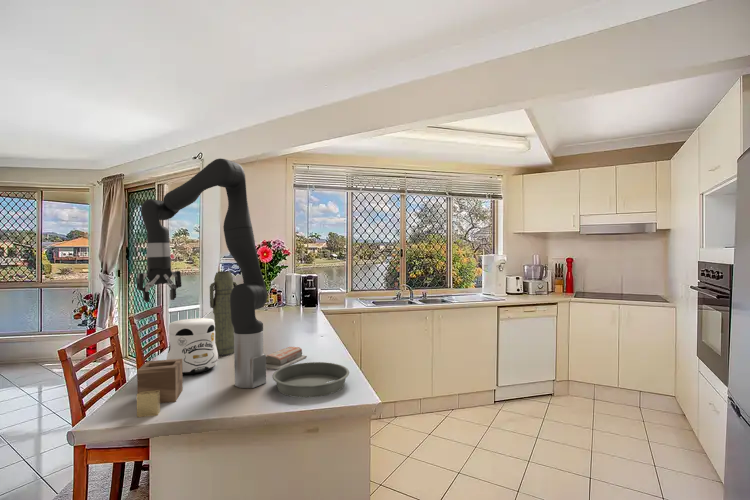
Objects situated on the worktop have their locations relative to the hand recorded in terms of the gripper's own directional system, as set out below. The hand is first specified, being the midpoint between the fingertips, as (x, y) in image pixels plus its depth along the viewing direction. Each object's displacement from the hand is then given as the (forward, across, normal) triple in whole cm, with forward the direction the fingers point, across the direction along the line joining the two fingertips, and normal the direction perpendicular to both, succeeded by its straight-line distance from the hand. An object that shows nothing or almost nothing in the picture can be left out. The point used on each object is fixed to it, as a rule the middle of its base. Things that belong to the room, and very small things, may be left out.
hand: (160, 301), depth 147 cm
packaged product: (+28, +37, -21) cm, 51 cm away
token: (+27, -17, -35) cm, 47 cm away
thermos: (+26, +29, +10) cm, 41 cm away
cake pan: (+28, +27, -51) cm, 64 cm away
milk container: (+27, +9, -4) cm, 28 cm away
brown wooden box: (+27, -10, -24) cm, 37 cm away
